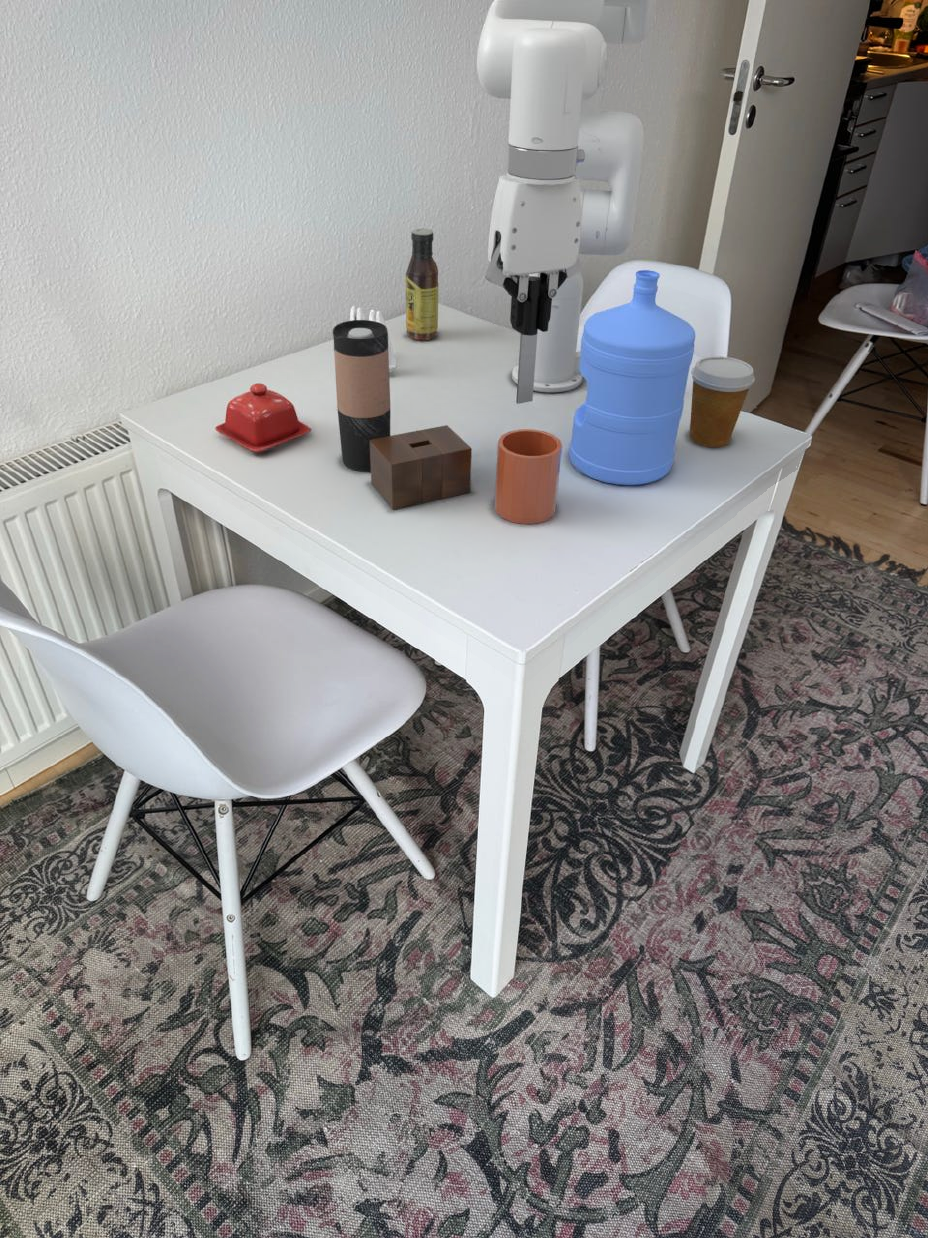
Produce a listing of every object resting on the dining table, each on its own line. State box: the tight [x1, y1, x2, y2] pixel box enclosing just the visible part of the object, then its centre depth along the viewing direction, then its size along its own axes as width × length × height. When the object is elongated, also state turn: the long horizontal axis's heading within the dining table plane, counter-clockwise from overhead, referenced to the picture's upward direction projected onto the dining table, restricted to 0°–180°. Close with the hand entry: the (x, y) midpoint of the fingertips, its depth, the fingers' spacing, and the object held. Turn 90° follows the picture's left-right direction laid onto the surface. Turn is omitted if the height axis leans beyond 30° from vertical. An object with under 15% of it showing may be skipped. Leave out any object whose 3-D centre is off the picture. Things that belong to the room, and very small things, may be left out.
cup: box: [494, 428, 563, 525], centre depth 121 cm, size 8×8×10 cm
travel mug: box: [332, 319, 391, 472], centre depth 128 cm, size 8×8×20 cm
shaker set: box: [349, 305, 399, 374], centre depth 159 cm, size 12×4×11 cm, turn 36°
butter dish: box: [214, 383, 312, 453], centre depth 137 cm, size 12×12×8 cm
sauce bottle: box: [405, 228, 439, 341], centre depth 169 cm, size 7×6×20 cm
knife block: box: [370, 424, 472, 511], centre depth 125 cm, size 12×8×7 cm, turn 116°
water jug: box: [568, 269, 696, 486], centre depth 127 cm, size 16×16×28 cm
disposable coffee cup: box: [689, 355, 756, 448], centre depth 139 cm, size 10×10×12 cm
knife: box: [515, 276, 541, 405], centre depth 110 cm, size 2×2×16 cm
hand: (529, 328), depth 108 cm, fingers closed on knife, 2 cm apart
